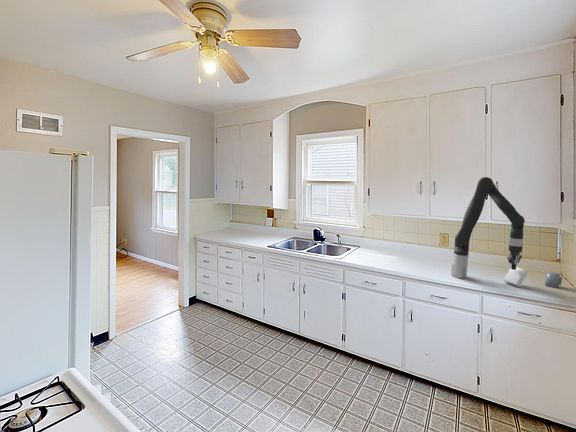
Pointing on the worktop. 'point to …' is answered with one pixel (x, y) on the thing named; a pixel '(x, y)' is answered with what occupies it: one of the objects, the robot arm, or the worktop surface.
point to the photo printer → (515, 276)
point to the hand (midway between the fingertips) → (513, 269)
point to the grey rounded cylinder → (553, 279)
